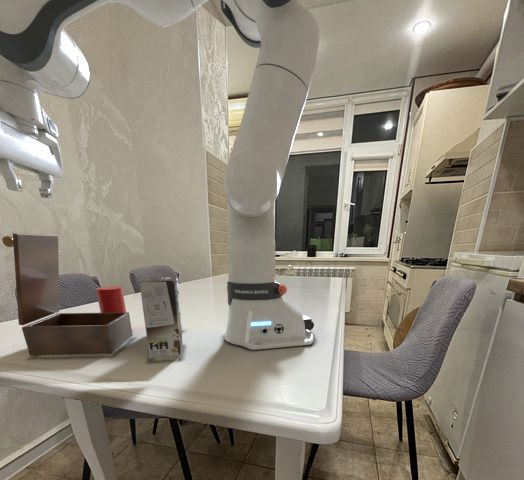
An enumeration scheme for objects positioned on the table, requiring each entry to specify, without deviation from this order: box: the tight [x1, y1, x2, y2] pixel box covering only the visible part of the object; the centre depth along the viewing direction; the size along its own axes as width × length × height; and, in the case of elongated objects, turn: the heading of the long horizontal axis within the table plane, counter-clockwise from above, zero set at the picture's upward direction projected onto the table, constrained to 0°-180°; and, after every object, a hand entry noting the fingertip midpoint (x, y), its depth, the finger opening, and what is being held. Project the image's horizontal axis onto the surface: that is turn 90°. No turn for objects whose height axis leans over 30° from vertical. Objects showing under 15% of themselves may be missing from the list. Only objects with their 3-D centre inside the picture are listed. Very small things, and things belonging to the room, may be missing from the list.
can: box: [95, 285, 127, 313], centre depth 76 cm, size 6×6×12 cm
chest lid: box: [1, 232, 60, 326], centre depth 61 cm, size 17×13×5 cm
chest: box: [21, 311, 133, 356], centre depth 66 cm, size 17×13×7 cm
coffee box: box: [139, 275, 184, 360], centre depth 61 cm, size 9×6×16 cm
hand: (32, 194), depth 59 cm, fingers open, 8 cm apart
